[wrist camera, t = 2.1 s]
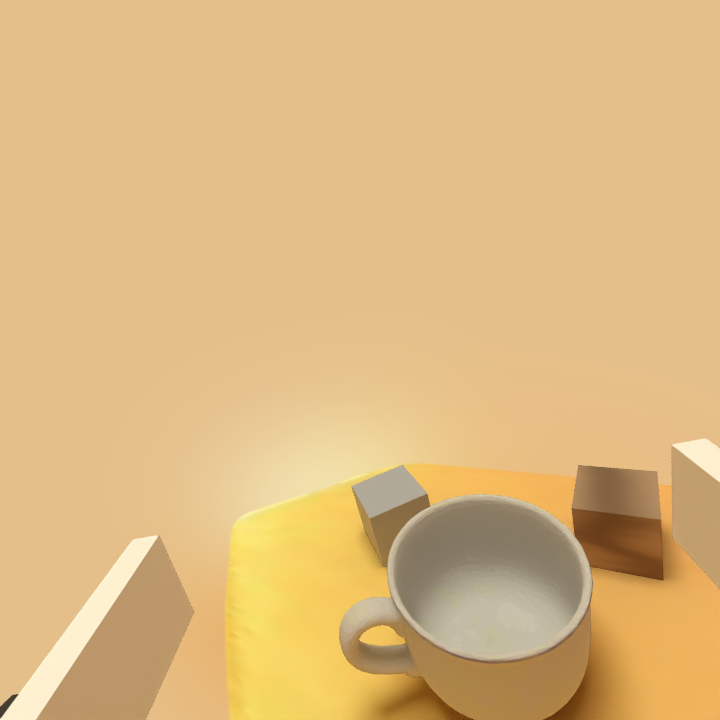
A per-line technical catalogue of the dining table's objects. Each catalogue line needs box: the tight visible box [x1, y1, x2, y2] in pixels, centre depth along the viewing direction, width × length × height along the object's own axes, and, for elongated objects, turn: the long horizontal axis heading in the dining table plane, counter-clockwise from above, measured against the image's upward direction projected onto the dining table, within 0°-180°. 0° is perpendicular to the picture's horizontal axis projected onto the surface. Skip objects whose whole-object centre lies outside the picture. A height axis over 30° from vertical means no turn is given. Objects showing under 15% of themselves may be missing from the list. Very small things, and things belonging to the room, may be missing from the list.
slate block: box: [352, 465, 430, 567], centre depth 38 cm, size 5×5×5 cm
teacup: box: [339, 494, 593, 720], centre depth 25 cm, size 14×11×8 cm
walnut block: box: [572, 465, 663, 580], centre depth 31 cm, size 5×5×5 cm
